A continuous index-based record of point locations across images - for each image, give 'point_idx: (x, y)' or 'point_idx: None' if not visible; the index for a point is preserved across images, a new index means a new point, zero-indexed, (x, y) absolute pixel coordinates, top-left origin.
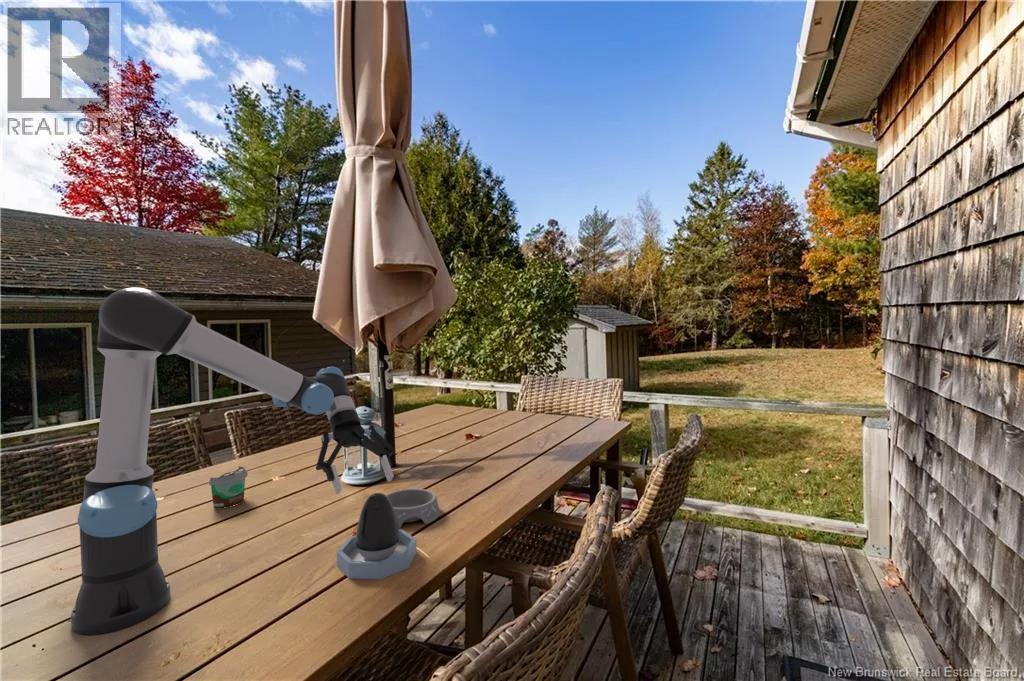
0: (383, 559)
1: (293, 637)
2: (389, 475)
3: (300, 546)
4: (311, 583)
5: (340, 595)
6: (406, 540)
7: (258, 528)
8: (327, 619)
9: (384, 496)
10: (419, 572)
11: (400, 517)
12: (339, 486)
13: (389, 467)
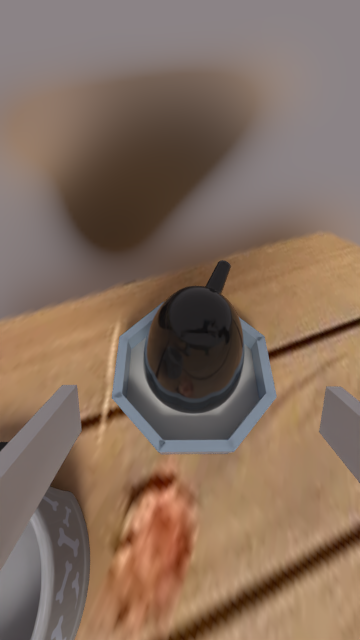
0: None
1: (342, 277)
2: (71, 405)
3: (340, 598)
4: (317, 376)
5: (278, 316)
6: (127, 365)
7: None
8: (302, 282)
9: (181, 291)
10: (158, 297)
11: (54, 501)
12: (342, 392)
13: (40, 415)
